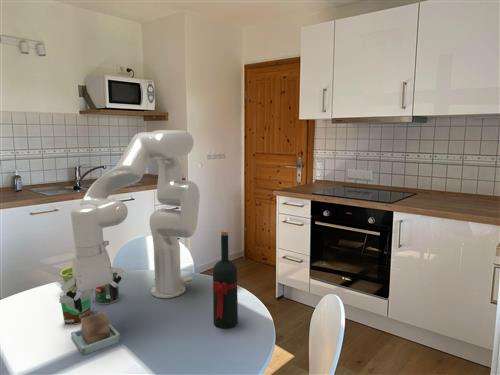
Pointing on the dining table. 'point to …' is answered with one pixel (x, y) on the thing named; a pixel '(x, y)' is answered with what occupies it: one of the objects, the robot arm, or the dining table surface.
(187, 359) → the dining table surface
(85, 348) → the tray
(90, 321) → the cube
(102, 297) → the canned tomato
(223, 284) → the wine bottle
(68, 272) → the plant pot
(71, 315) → the food container
